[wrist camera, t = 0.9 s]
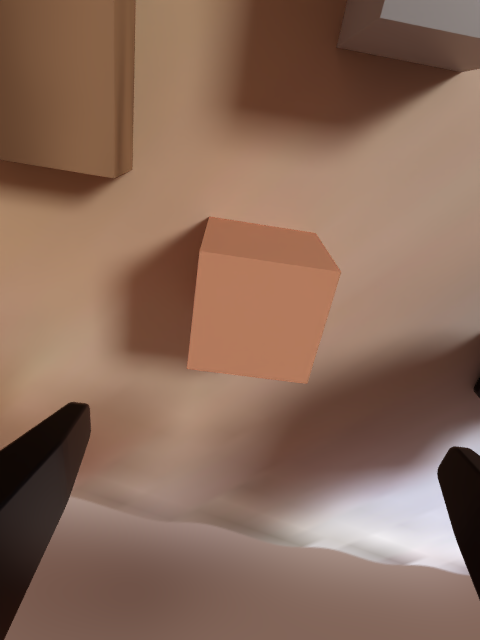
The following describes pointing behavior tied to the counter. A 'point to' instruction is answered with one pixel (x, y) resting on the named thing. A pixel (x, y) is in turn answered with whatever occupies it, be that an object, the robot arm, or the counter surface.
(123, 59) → the walnut slab
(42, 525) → the robot arm
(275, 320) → the terracotta cube
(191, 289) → the counter surface
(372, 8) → the grey cube
